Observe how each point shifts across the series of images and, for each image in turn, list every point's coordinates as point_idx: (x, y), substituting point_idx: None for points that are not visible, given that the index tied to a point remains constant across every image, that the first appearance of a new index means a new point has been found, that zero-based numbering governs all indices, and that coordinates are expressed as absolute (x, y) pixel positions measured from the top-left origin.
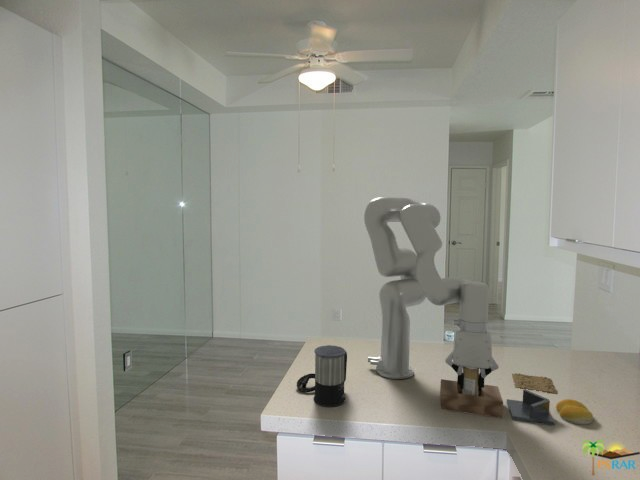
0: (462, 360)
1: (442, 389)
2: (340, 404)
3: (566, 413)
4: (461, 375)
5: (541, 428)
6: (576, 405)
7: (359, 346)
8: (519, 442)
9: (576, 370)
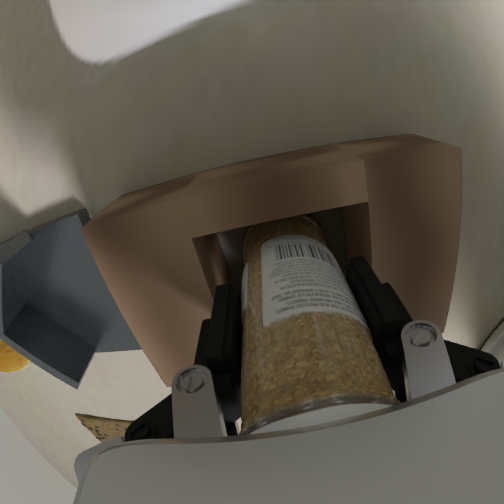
0: (491, 451)
1: (454, 213)
2: None
3: None
4: (394, 326)
5: (8, 201)
6: None
7: None
8: (44, 38)
9: None
